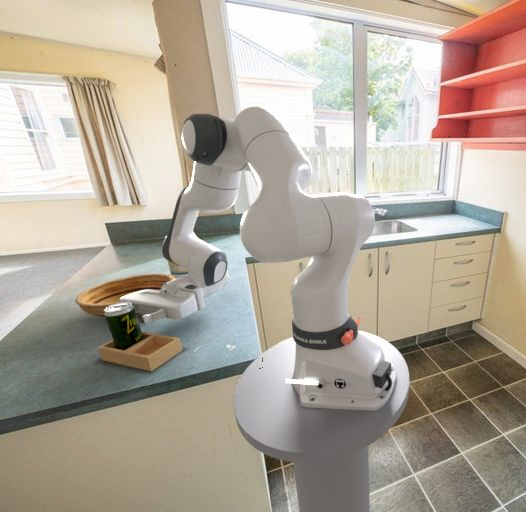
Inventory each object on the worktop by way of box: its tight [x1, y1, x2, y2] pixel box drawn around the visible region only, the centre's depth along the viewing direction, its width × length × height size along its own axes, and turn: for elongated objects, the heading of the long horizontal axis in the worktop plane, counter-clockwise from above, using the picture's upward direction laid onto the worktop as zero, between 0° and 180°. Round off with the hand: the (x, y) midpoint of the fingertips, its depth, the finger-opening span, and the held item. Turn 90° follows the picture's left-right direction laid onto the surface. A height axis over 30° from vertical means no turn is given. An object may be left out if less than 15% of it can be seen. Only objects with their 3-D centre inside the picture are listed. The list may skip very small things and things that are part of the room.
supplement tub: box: [164, 232, 196, 279], centre depth 123 cm, size 12×12×17 cm
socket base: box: [97, 330, 183, 372], centre depth 73 cm, size 15×8×4 cm, turn 75°
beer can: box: [104, 302, 143, 350], centre depth 72 cm, size 5×5×12 cm
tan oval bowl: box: [74, 273, 176, 318], centre depth 94 cm, size 30×24×8 cm
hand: (128, 318), depth 72 cm, fingers open, 8 cm apart
